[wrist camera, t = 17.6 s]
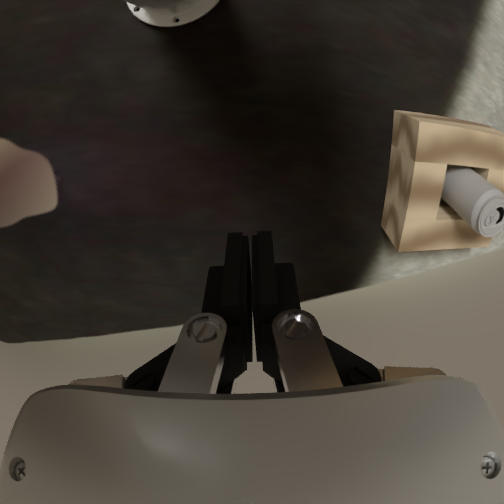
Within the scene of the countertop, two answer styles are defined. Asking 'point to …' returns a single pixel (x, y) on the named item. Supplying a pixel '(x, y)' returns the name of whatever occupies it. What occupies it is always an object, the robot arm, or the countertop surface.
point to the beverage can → (474, 199)
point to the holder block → (435, 179)
